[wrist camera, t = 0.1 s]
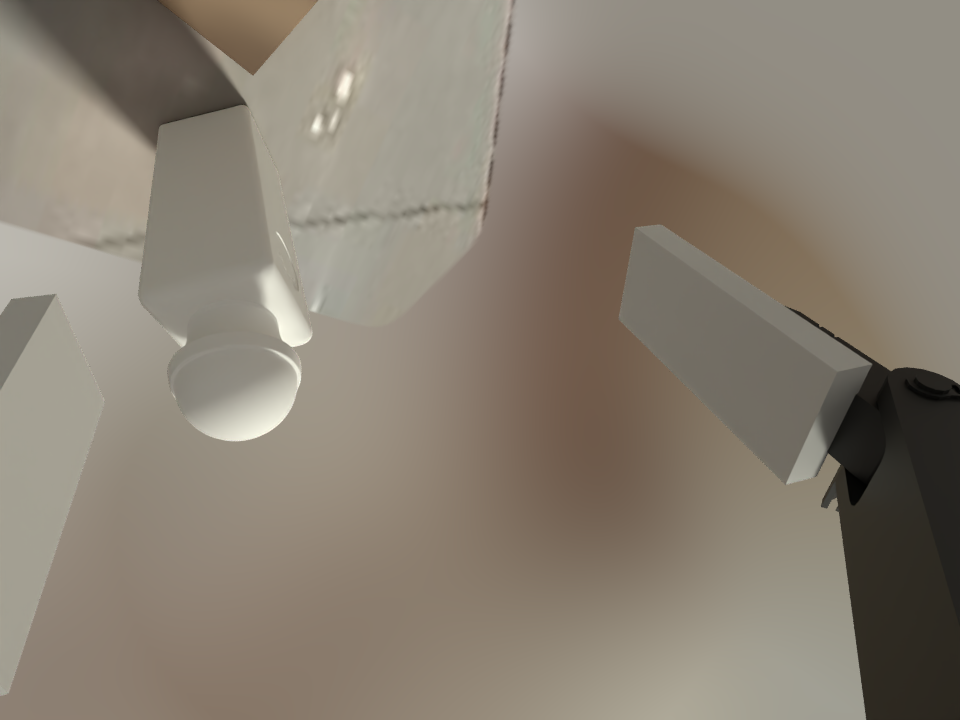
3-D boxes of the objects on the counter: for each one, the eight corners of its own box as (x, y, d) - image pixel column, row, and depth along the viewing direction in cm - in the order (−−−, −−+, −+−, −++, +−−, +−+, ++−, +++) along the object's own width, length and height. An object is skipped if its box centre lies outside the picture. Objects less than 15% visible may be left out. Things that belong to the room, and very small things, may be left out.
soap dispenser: (288, 178, 41) (332, 442, 29) (197, 202, 41) (204, 481, 29) (250, 93, 36) (285, 373, 24) (145, 119, 35) (126, 419, 23)
